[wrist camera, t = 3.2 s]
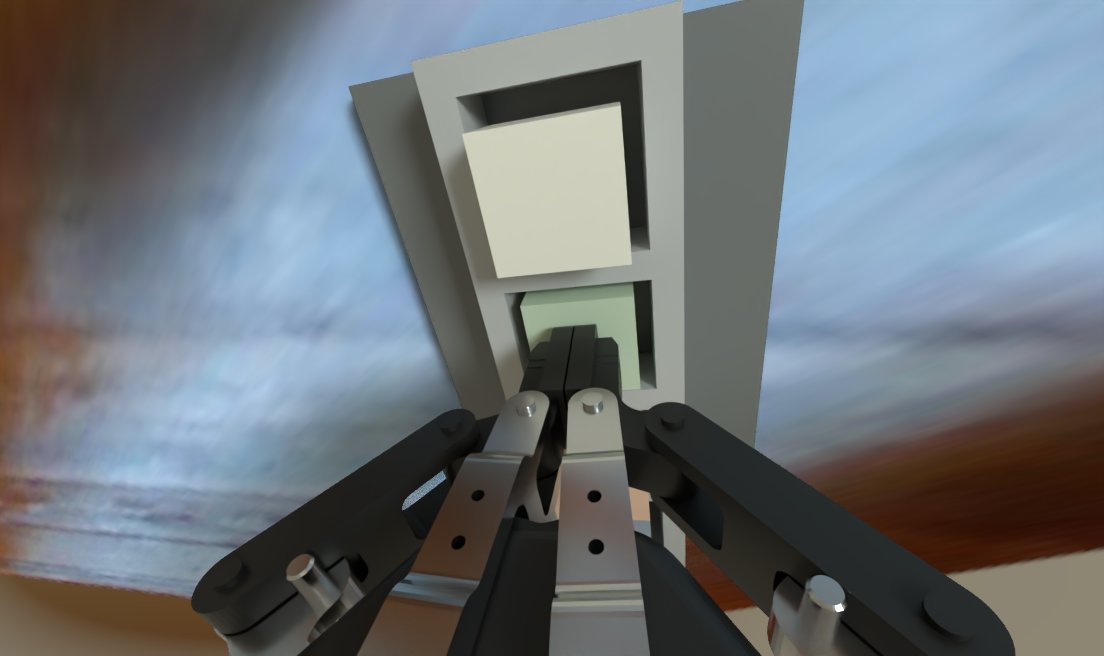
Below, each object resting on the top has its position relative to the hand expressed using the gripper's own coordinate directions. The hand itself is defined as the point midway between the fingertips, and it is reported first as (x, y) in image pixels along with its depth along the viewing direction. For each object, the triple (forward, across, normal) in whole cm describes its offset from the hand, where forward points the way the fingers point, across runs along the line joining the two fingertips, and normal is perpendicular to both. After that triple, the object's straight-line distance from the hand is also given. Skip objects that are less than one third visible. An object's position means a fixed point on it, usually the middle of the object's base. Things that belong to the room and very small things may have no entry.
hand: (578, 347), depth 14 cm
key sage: (+3, 0, 0) cm, 3 cm away
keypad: (+4, 0, +3) cm, 5 cm away
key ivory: (+1, 0, -5) cm, 6 cm away
